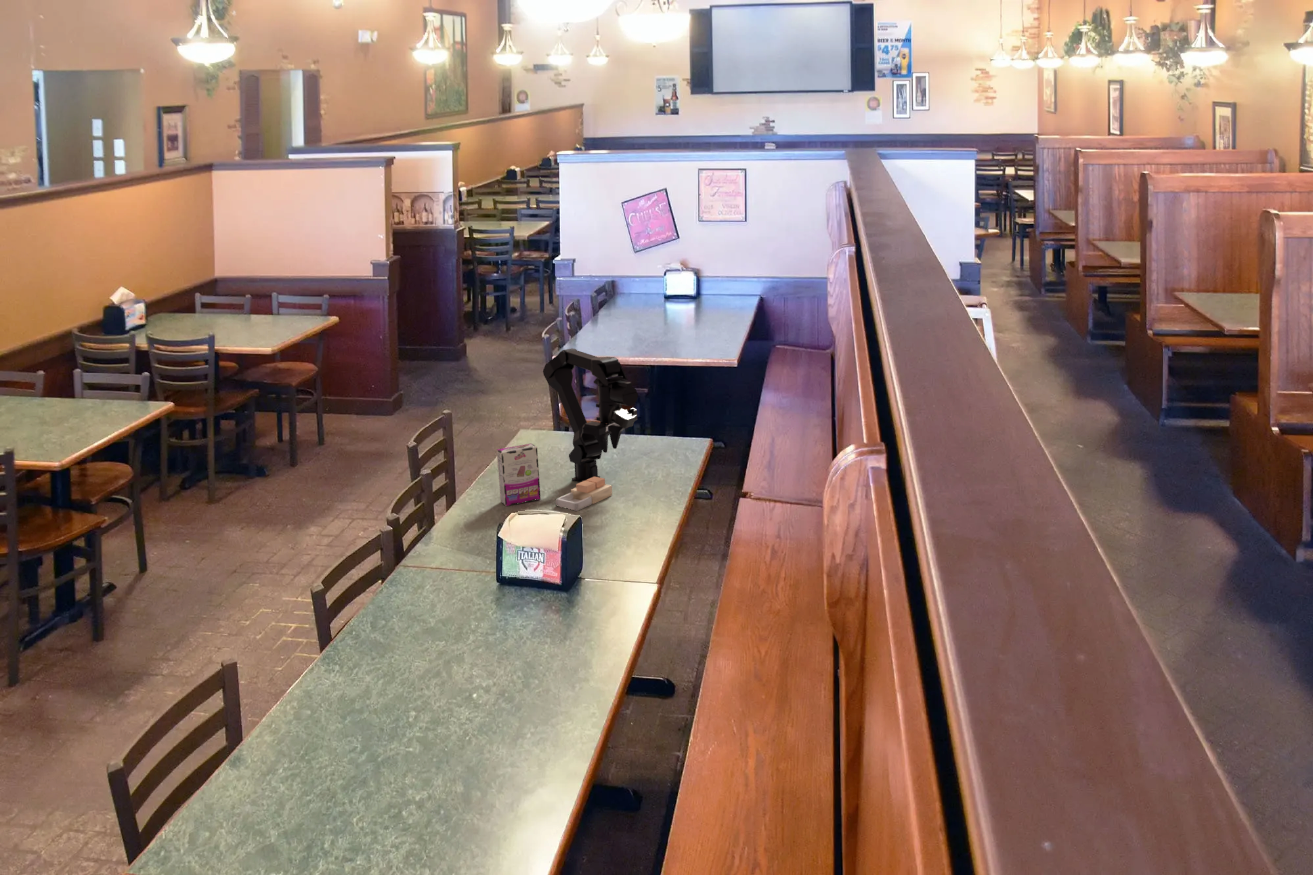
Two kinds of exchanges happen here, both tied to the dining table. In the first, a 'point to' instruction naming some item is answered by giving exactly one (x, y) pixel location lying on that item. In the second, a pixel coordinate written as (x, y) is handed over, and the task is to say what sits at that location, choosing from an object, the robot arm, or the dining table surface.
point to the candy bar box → (518, 474)
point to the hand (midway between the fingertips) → (610, 450)
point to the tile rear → (597, 481)
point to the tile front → (585, 486)
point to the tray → (573, 502)
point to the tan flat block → (594, 493)
